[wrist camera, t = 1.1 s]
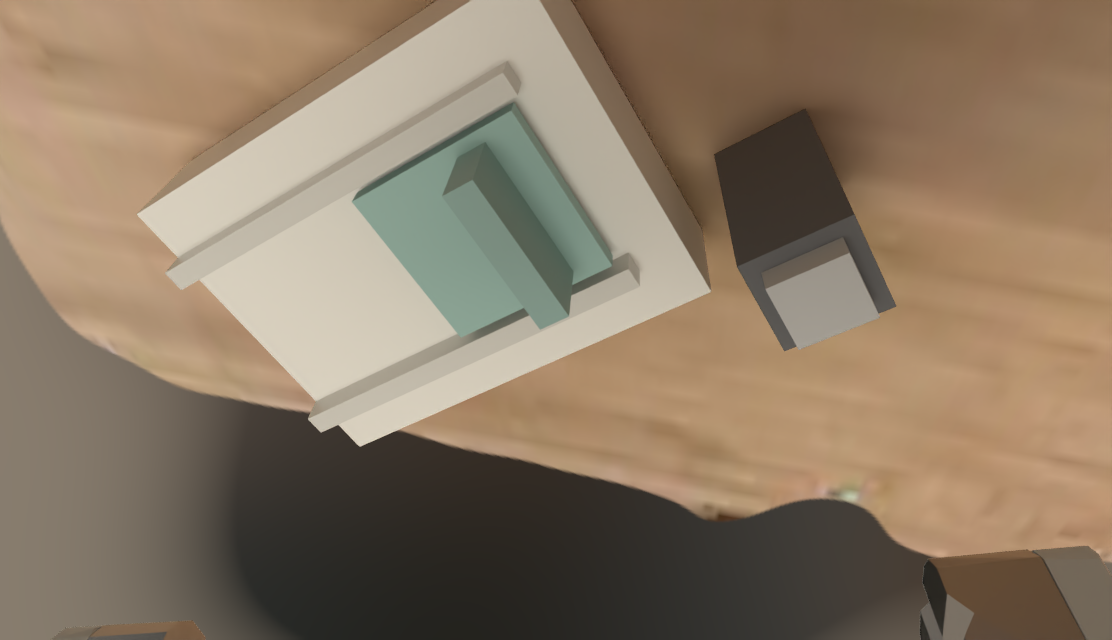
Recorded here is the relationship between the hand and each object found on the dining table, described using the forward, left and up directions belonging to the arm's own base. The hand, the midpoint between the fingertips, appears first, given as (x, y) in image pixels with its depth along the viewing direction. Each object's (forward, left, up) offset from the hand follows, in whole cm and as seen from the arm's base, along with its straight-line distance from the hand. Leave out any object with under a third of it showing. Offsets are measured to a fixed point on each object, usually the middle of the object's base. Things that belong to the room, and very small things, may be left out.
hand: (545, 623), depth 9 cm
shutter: (+7, +4, -22) cm, 24 cm away
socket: (+10, +4, -28) cm, 30 cm away
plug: (-3, +10, -28) cm, 30 cm away
